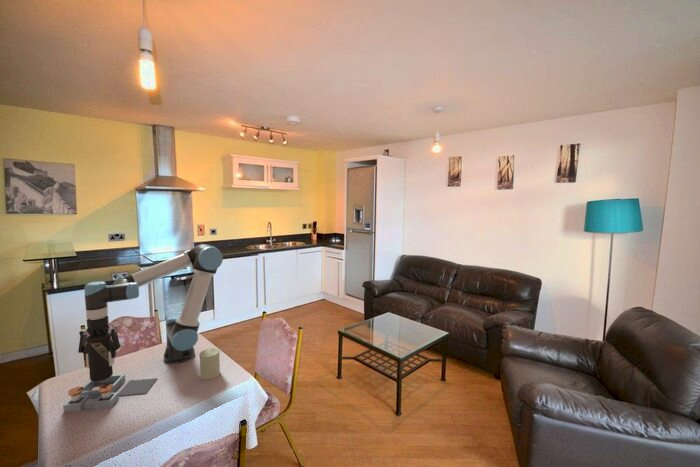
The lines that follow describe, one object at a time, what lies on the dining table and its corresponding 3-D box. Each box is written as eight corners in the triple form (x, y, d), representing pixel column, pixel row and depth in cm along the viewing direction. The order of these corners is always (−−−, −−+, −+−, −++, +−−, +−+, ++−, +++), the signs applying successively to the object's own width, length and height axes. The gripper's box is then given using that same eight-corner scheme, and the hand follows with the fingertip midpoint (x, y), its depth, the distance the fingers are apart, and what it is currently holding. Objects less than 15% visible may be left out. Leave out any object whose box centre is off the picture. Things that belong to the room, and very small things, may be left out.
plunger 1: (87, 400, 133) (86, 386, 132) (79, 407, 128) (78, 392, 127) (74, 401, 132) (73, 387, 131) (66, 409, 127) (65, 394, 126)
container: (100, 383, 137) (97, 339, 135) (83, 380, 138) (80, 337, 136) (118, 372, 145) (115, 331, 143) (102, 370, 147) (99, 329, 145)
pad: (157, 378, 151) (157, 378, 151) (146, 393, 139) (146, 392, 139) (129, 381, 149) (129, 380, 149) (116, 396, 137) (115, 395, 137)
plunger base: (118, 398, 135) (118, 392, 135) (111, 407, 130) (110, 401, 129) (73, 403, 132) (73, 396, 132) (63, 412, 126) (63, 405, 126)
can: (223, 370, 160) (223, 347, 159) (214, 380, 151) (213, 356, 150) (206, 369, 161) (205, 346, 160) (196, 379, 152) (195, 355, 150)
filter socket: (125, 380, 150) (124, 374, 149) (110, 396, 137) (109, 390, 137) (94, 382, 147) (94, 376, 147) (76, 399, 135) (75, 393, 134)
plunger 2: (116, 397, 135) (115, 383, 134) (110, 404, 130) (109, 390, 129) (103, 399, 134) (102, 384, 133) (96, 406, 129) (96, 391, 128)
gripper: (128, 312, 145) (130, 359, 147) (75, 315, 140) (79, 363, 143) (119, 318, 137) (122, 367, 140) (64, 321, 133) (68, 372, 135)
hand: (100, 365), depth 141 cm, fingers closed on container, 8 cm apart
